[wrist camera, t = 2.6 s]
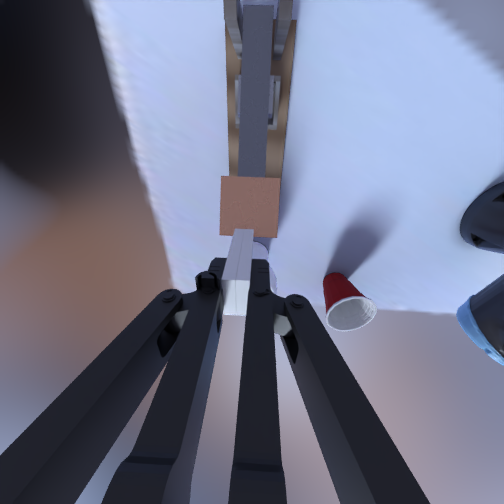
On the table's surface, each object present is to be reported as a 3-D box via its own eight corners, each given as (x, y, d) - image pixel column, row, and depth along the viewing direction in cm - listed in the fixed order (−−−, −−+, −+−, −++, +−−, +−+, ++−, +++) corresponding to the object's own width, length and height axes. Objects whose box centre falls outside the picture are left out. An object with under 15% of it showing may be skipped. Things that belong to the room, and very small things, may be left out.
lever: (232, 33, 23) (226, -15, 19) (284, 34, 23) (291, -14, 19) (226, 234, 26) (219, 235, 21) (273, 236, 26) (277, 237, 21)
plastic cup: (344, 299, 57) (362, 337, 47) (307, 291, 56) (317, 328, 46) (364, 269, 51) (389, 304, 41) (323, 260, 51) (339, 293, 40)
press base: (227, 24, 30) (200, -54, 17) (294, 26, 30) (319, -53, 17) (231, 198, 44) (218, 227, 31) (278, 200, 43) (284, 230, 30)
